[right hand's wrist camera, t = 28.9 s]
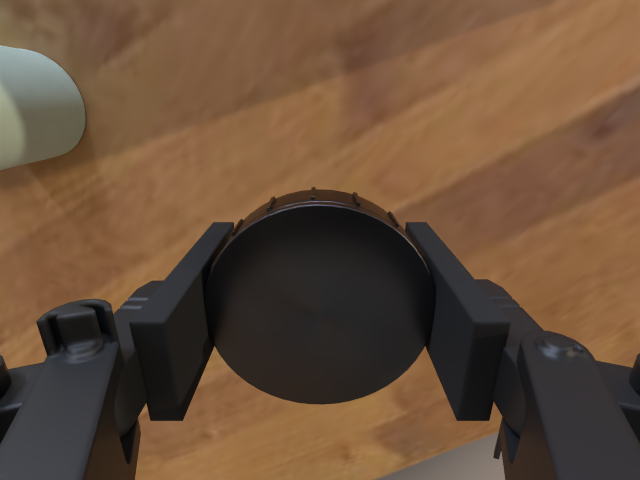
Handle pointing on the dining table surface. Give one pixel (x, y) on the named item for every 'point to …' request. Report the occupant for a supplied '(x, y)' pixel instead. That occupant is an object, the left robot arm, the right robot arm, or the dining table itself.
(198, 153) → the dining table surface
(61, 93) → the jar
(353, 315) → the lid
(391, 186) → the dining table surface
